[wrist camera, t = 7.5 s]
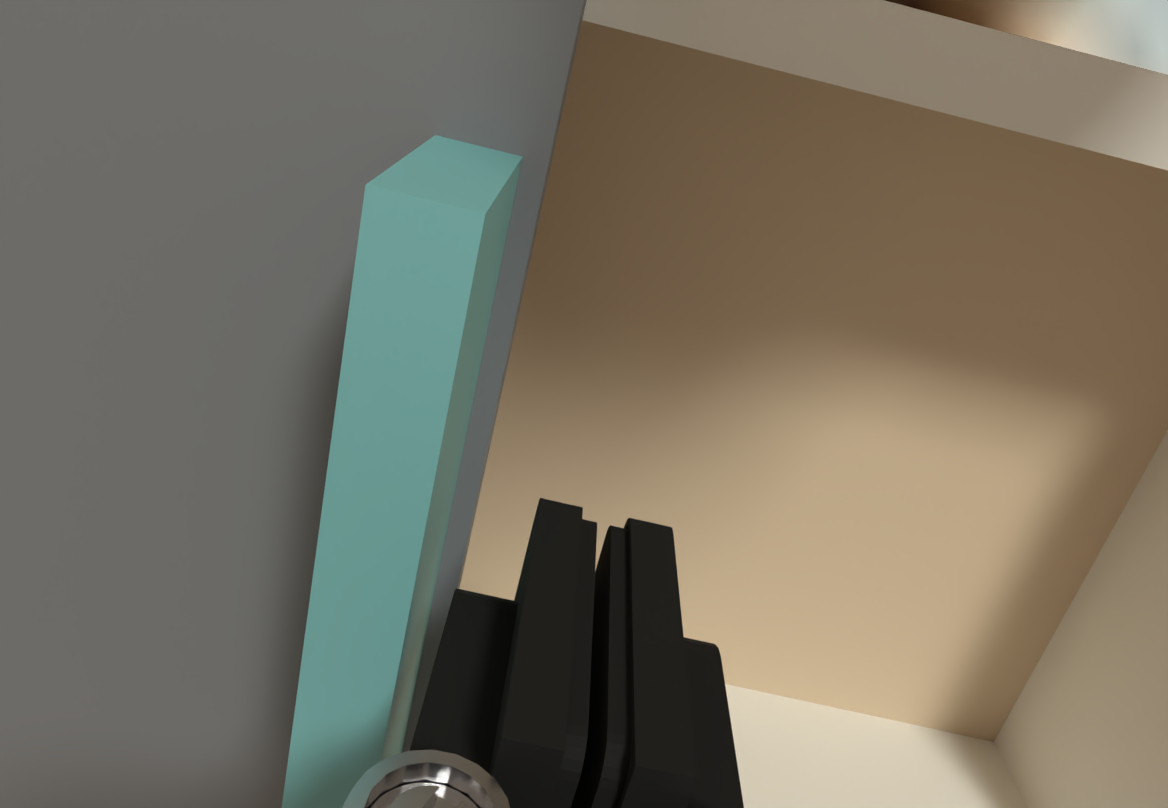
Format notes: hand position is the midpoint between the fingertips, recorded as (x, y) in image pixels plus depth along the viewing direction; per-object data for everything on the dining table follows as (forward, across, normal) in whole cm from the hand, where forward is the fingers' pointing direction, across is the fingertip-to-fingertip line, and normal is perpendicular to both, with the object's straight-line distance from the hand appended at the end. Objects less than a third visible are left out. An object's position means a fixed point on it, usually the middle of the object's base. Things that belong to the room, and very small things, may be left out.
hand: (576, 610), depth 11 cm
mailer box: (+8, -2, 0) cm, 8 cm away
